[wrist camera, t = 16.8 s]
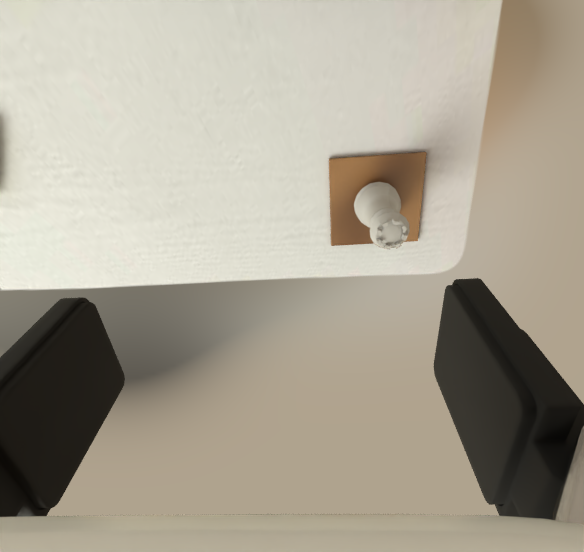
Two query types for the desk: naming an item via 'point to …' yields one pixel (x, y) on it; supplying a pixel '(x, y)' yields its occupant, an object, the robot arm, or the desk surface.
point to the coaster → (369, 169)
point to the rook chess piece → (382, 214)
